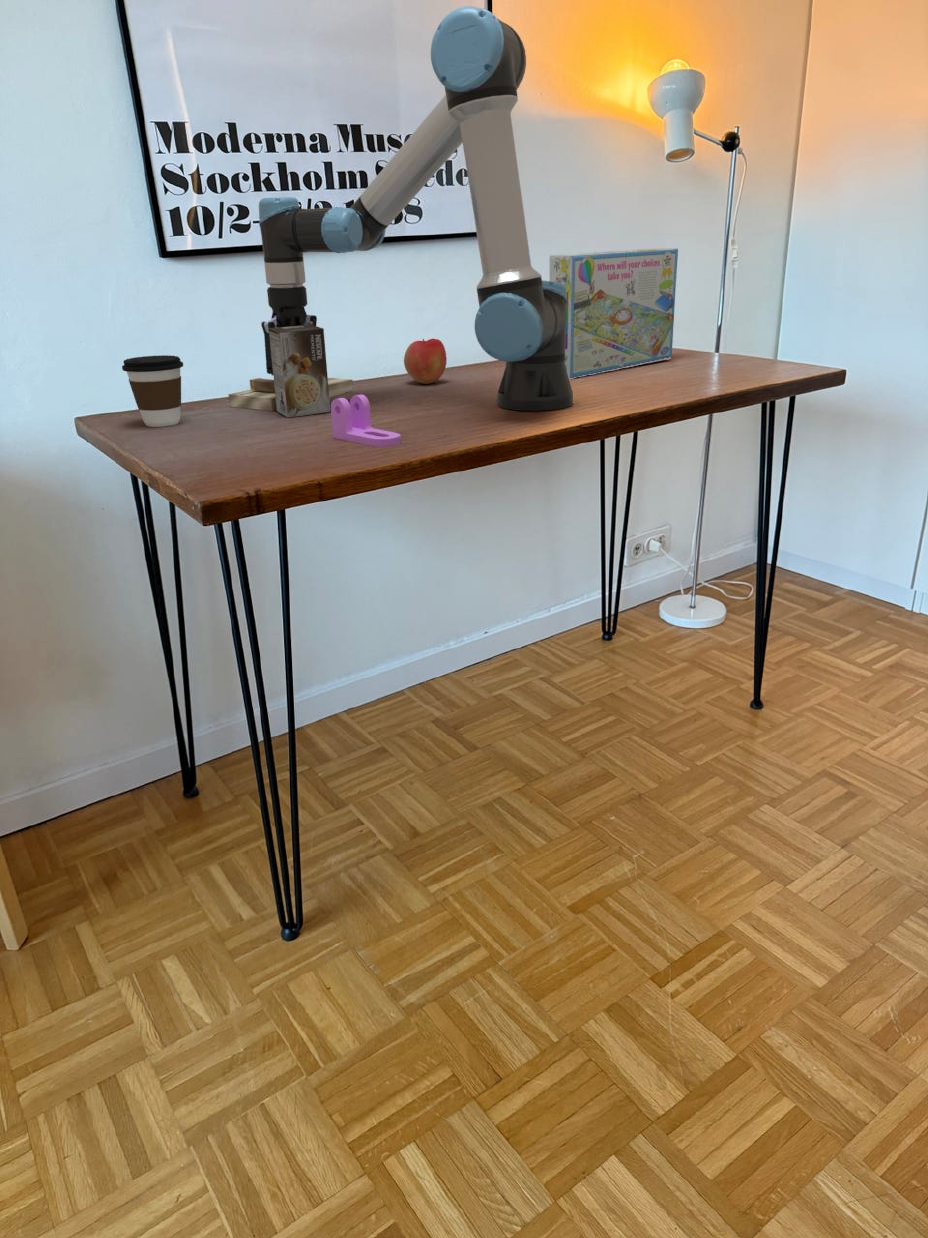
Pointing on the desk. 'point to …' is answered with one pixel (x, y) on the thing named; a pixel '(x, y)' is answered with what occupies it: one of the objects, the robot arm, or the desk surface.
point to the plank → (268, 399)
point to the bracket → (358, 423)
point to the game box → (617, 307)
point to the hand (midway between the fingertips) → (298, 405)
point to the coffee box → (299, 370)
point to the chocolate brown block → (262, 385)
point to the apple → (425, 360)
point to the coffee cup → (156, 388)
